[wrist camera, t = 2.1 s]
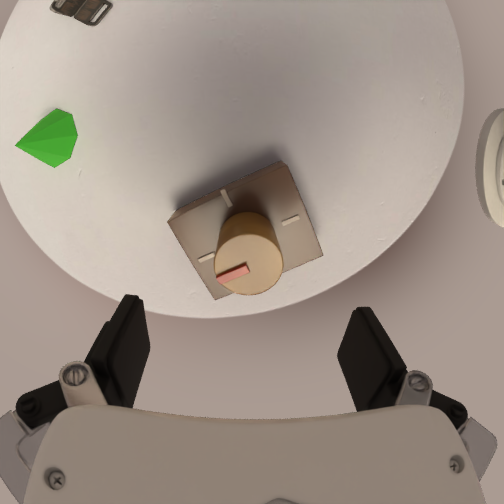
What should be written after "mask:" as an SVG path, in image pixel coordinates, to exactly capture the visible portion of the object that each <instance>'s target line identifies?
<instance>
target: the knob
mask: <svg viewBox="0 0 504 504" xmlns="http://www.w3.org/2000/svg"><path fill="white" fill-rule="evenodd" d="M283 266H284V261H283V256H282V252H281V249H280V246H279V242H278V239H277V236H276V233H275V230H274V227H273V226H272V224H271V223H270V221H269V220H268V219H266V218H265V217H264V216H262V215H260V214H257V213H253V212H242V213H238V214H235V215H233V216H232V217H230V218H229V219H228V220H227V221H226V222H225V223H224V224H223V226H222V227H221V230H220V233H219V237H218V242H217V247H216V252H215V256H214V272H215V274H216V279H217V281H218V283H219V284H220V285H221V284H222V285H223V286H224V287H225V288H227V289H228V290H230V291H232V292H234V293H237V294H241V295H256V294H260V293H263V292H265V291H267V290H268V289H270V288H271V287H272V286H274V285H275V284H276V282H277V281H278V280H279V278H280V276H281V274H282V271H283Z"/></svg>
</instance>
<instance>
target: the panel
mask: <svg viewBox="0 0 504 504" xmlns="http://www.w3.org/2000/svg"><path fill="white" fill-rule="evenodd" d="M242 212H253V213H257V214H260V215H262V216H264V217H265V218H266V219H268V220H269V221H270V223H271V224H272V226H273V227H274V230H275V233H276V236H277V239H278V242H279V246H280V249H281V252H282V256H283V261H284V266H283V271H282V273H283V272H286V271H288V270H291V269H293V268H295V267H298V266H300V265H302V264H305V263H307V262H309V261H312V260H314V259H316V258H319V257H321V256H323V253H322V250H321V247H320V245H319V242H318V239H317V237H316V234H315V232H314V229H313V226H312V224H311V221H310V219H309V216H308V214H307V211H306V209H305V206H304V204H303V201H302V199H301V197H300V194H299V192H298V189H297V187H296V185H295V182H294V180H293V177H292V175H291V173H290V171H289V168H288V166H287V165H286V164H285V163H284V162H282V161H279V162H277V163H275V164H272V165H270V166H268V167H265V168H263V169H261V170H259V171H256V172H254V173H252V174H250V175H248V176H245V177H243V178H241V179H239V180H237V181H235V182H233V183H230V184H228V185H226V186H224V187H222V188H220V189H218V190H216V191H214V192H212V193H210V194H208V195H206V196H204V197H202V198H200V199H198V200H196V201H194V202H192V203H190V204H188V205H186V206H184V207H182V208H180V209H178V210H176V211H175V212H174V214H173V215H172V216H171V218H170V219H169V220H168V221H167V222H168V224H169V226H170V228H171V229H172V231H173V233H174V234H175V236H176V238H177V240H178V241H179V243H180V245H181V246H182V248H183V250H184V251H185V253H186V255H187V256H188V258H189V259H190V261H191V263H192V264H193V266H194V268H195V269H196V271H197V272H198V274H199V276H200V277H201V279H202V280H203V282H204V284H205V285H206V287H207V288H208V290H209V291H210V293H211V295H212V296H213V298H214V299H215V300H217V299H220V298H222V297H225V296H227V295H230V294H232V293H234V292H232V291H230V290H228V289H227V288H225V287H224V286H223V285H222V284H221V285H220V284H219V283H218V281H217V279H216V274H215V272H214V256H215V252H216V247H217V242H218V237H219V233H220V230H221V227H222V226H223V224H224V223H225V222H226V221H227V220H228V219H229V218H230V217H232V216H233V215H235V214H238V213H242Z"/></svg>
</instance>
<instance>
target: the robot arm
mask: <svg viewBox="0 0 504 504" xmlns="http://www.w3.org/2000/svg"><path fill="white" fill-rule="evenodd" d="M496 184H497V190H498V194H499V198H500V200H501V203H502V204H503V206H504V137H503V139H502V141H501V143H500V147H499V150H498V155H497V162H496ZM149 352H150V341H149V336H148V330H147V324H146V319H145V311H144V305H143V300H142V299H139V297H138V296H137V295H128V294H126V295H125V296H124V297H123V299H122V301H121V302H120V304H119V306H118V308H117V309H116V311H115V313H114V315H113V316H112V318H111V320H110V321H107V322H106V323H105V324H104V326H103V328H102V329H101V331H100V333H99V335H98V337H97V338H96V340H95V342H94V344H93V346H92V347H91V349H90V351H89V353H88V355H87V357H86V359H85V361H84V362H81V361H74V362H70V363H68V364H66V365H65V366H64V367H63V368H62V369H61V370H60V373H59V380H58V381H55V382H53V383H50V384H48V385H45V386H43V387H41V388H38V389H36V390H33V391H31V392H28V393H25V394H23V395H22V396H21V397H20V398H19V399H18V401H17V403H16V410H15V411H13V412H12V411H11V410H10V411H9V412H7V413H6V414H5V415H3V416H2V417H1V418H0V477H1V478H2V480H3V481H4V483H5V484H6V486H7V487H8V489H9V490H10V492H11V493H12V494H13V496H14V497H15V498H16V500H17V501H18V502H19V504H486V502H485V498H484V495H483V492H482V488H481V486H480V483H479V482H480V480H481V478H482V476H483V475H484V473H485V471H486V469H487V467H488V465H489V463H490V461H491V459H492V457H493V455H494V453H495V451H496V448H497V440H496V437H495V436H494V435H493V434H492V433H491V432H489V431H488V430H487V429H486V428H484V427H483V426H482V425H481V424H479V423H478V422H477V421H476V420H474V419H473V418H472V417H470V418H469V419H468V418H467V417H468V414H467V410H466V408H465V407H464V405H463V404H461V403H460V402H458V401H456V400H454V399H451V398H449V397H447V396H445V395H443V394H440V393H438V392H436V391H434V390H432V388H433V384H432V381H431V379H430V378H429V376H428V375H426V374H425V373H423V372H421V371H415V370H413V371H410V372H408V371H407V370H406V368H407V367H406V365H405V363H404V361H403V360H402V358H401V356H400V355H399V353H398V351H397V350H396V348H395V346H394V345H393V343H392V341H391V340H390V338H389V336H388V335H387V333H386V331H385V330H384V328H383V327H382V325H381V323H380V322H379V320H378V319H377V317H376V316H375V314H374V312H373V311H372V309H371V308H370V307H357V308H356V310H354V311H353V312H352V315H351V318H350V321H349V323H348V326H347V329H346V332H345V335H344V337H343V340H342V342H341V345H340V348H339V350H338V354H337V357H338V361H339V364H340V366H341V369H342V371H343V374H344V376H345V379H346V382H347V385H348V388H349V390H350V393H351V396H352V399H353V401H354V404H355V407H356V410H357V412H353V413H345V414H338V415H329V416H320V417H308V418H291V419H221V418H206V417H194V416H184V415H175V414H166V413H159V412H152V411H145V410H139V409H133V404H134V401H135V397H136V394H137V390H138V387H139V384H140V381H141V377H142V374H143V371H144V368H145V364H146V361H147V358H148V355H149Z"/></svg>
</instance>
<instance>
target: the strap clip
mask: <svg viewBox="0 0 504 504" xmlns="http://www.w3.org/2000/svg"><path fill="white" fill-rule="evenodd" d="M59 1H60V0H54V1H53V3H52V4H51V6H50V10H51V11H53V12H55V13H58V14H62V15H66V16H70V17H72V16H73V15H74V18H75V19H77V20H79V21H81V22H82V23H84V24H86V25H90V26H95V25H97V24H98V23H99V22H100V20H101V19H102V18H103V17H104V15H105V14H106V13H107V12H108V10H109V9H110V8H111V7H112V4H111V3H110V2H108V1H107V0H61V1H60V2H59ZM58 3H59V4H58ZM57 4H58V5H57ZM104 4H106V5H108V6H107V8H106V9H105V10H104V11H103V12H102V14H101V15H100V16H99V17H98V19H97V20H96V21H95V22H90V21H91V19H92V18H93V17H94V16H95V14H96V13H97V12H98V11H99V9H100V8H101V7H102V6H103V5H104ZM56 5H57V6H56Z"/></svg>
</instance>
